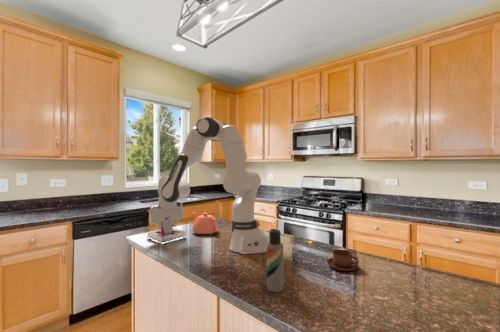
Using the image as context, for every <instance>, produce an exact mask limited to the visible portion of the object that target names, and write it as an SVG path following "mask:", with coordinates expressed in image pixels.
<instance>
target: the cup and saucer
mask: <svg viewBox="0 0 500 332" xmlns="http://www.w3.org/2000/svg"><path fill="white" fill-rule="evenodd" d="M353 259H355V260H356V261H355V260H353ZM326 262H327V266H329V267H330V268H332V269H334V270H337V271H342V272H349V271H354V270H356V269H357V268H358V267H359V258H358V257H356V256H353V253H352V252H351V251H350V250H347V249H334V250H332V257H330V258H328V259H327V260H326Z"/></svg>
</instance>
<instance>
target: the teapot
mask: <svg viewBox="0 0 500 332" xmlns="http://www.w3.org/2000/svg"><path fill="white" fill-rule="evenodd" d="M191 213H192V214H193V225H192V232H193V233H194V232H195V233H197V234H210V235H213V234H212V233H214V234H216V233H217V232H218V230H219V226H218V221H217V219H216V218H215V217H214V216H213V215H212V214H209V213H208V212H202V214H201V215H197V213H196V212H195V211H191ZM215 232H216V233H215ZM195 233H194V234H195ZM197 234H196V235H197Z"/></svg>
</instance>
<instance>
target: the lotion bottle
mask: <svg viewBox="0 0 500 332" xmlns="http://www.w3.org/2000/svg"><path fill="white" fill-rule="evenodd" d="M281 234H282V233H281V230H280V229H276V228H271V229H270V230H269V233H268V237H269V243H267V252H266V288H267V291H269V292H272V293H273V292H274V293H279V292H282V291H283V290H284V288H285V287H284V284H285V281H284V280H285V279H284V278H285V277H284V276H285V274H284V269H285V267H284V265H285V264H284V244H283V243H282V242H281Z"/></svg>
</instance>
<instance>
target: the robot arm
mask: <svg viewBox="0 0 500 332" xmlns="http://www.w3.org/2000/svg"><path fill="white" fill-rule="evenodd" d="M208 141H212V142H220V144H221V148H222V152H223V156H224V160H225V166H226V169H225V170H226V171H225V175H224V177H223V179H222V187H223V188H224V190H225V191H226V192H227V193H229V194H234V195H236V197H235V199H234V201H233V202H232V205H231V206H232V207H231V209H232V210H231V211H232V214H231V215H232V217H231V218H232V219H231V223H230V224H231V225H230V226H231V228H230V229H231V237H230V238H231V240H230V242H229V243H230V244H229V250H230V251H232V252H233V253H234V252H235V253H238V254H242V255H249V254H250V255H251V254H260V253H267V243H269V234H267V233H266V232H265V231H264V230H263V229H261V228H260V225H261V224H260V222H259V221H258V220H256V219H255V203H256V202H255V201H256V197H257V194H258V189H259V188H260V186H261V184H262V178H261V176H260V174H258V173H257V172H255V171H253V170H246V161H247V159H248V154H247V151H246V148H245V145H244V144H245V143H244V142H243V139H242V136H241V133H240V131H239V129H238V127H237V126H236V125H234V124H226V123H225V122H222V121H221V120H218V119H217V118H214V117H212V116H202V117H200V118H199V119H198V120H197V122H196V125H195V126H193V127H191V129H190V130H189V132H188V133H187V136H186V138H185V141H184V144H183V146H182V149H181V152H180V154H179V155H178V157H177V158H176V160H175V162H174V165H173V167H172V169H171V172H170V174H169V175H167V176H166V175H165V176H162V177H160V178H159V179H158V186H157V187H158V188H157V193H158V204H157V205H153V206H151V207H149V209H148V214H149V215H148V222H149V223H150V224H155V226H156V227H157V230H162V229H161V228H162V227H161V225H160V224H161V222H164V221H165V218H166V217H172V221H173V222H172V228H176V227H177V223H178V219H179V220H180V219H183V218H184V207H183V202H181V201H179V200H183V199H186V198H187V197H189V196H190V193H191V187H190V185H189V183H187V182H185V181H182V179H183V177H184V173H185V172H186V170H187V169H188V168H189V167H190V166H192V165H194V164H196V163H197V162H199V161H200V160H201V158H202V156H203V153H204V151H205V147H206V144H207V143H208Z"/></svg>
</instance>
